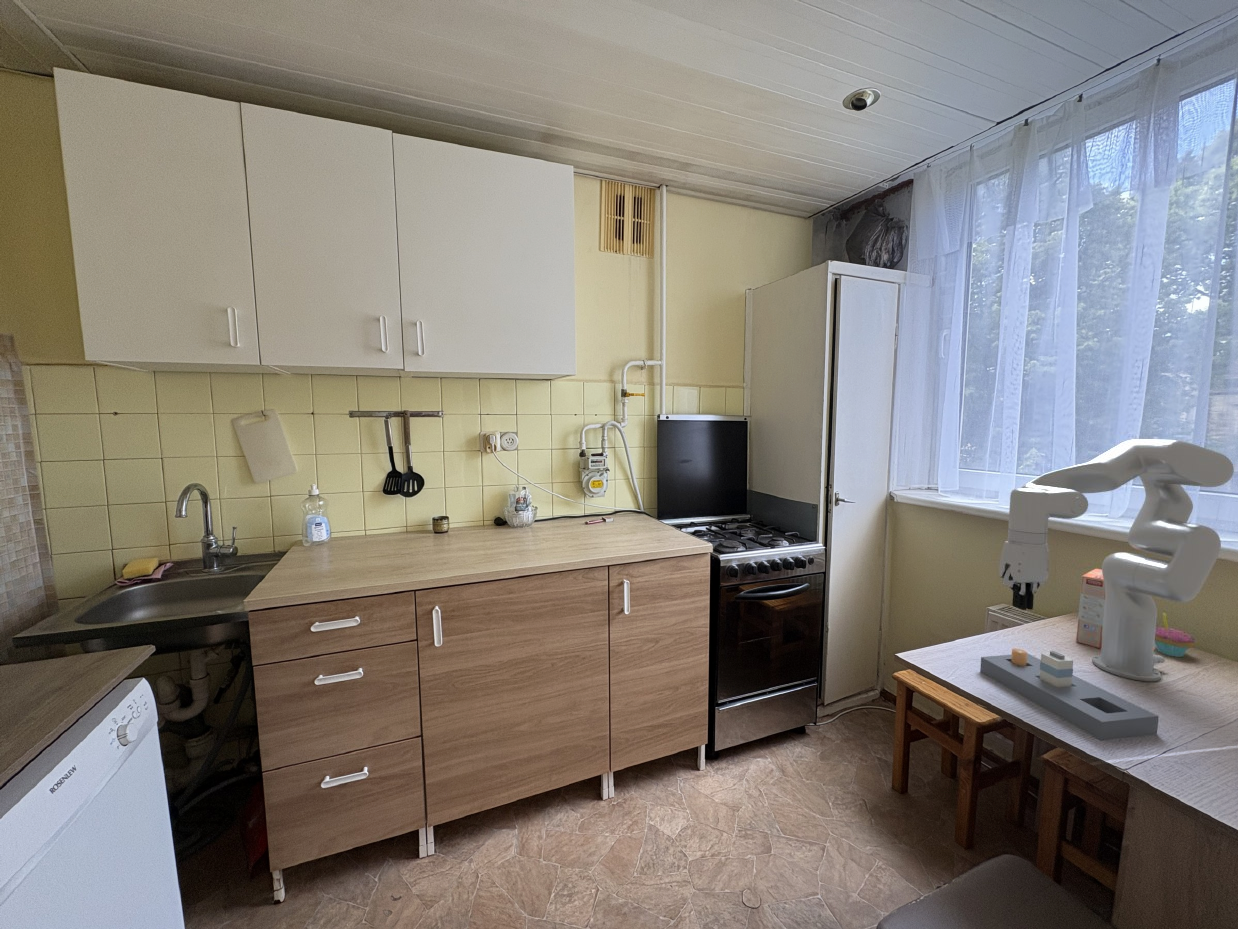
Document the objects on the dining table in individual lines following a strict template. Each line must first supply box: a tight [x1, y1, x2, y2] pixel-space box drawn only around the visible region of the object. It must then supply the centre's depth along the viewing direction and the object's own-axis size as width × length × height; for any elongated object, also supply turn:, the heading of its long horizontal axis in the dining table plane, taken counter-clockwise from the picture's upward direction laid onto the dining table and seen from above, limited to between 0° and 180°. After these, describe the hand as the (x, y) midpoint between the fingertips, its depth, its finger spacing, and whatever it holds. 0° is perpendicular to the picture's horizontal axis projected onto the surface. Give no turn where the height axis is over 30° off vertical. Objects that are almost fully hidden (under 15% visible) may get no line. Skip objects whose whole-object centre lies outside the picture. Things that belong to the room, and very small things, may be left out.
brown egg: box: [1011, 648, 1028, 667], centre depth 122 cm, size 3×3×6 cm
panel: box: [979, 652, 1160, 741], centre depth 113 cm, size 14×28×4 cm, turn 8°
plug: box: [1040, 650, 1074, 688], centre depth 113 cm, size 4×4×11 cm
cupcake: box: [1154, 610, 1196, 658], centre depth 136 cm, size 9×8×12 cm
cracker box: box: [1075, 568, 1105, 650], centre depth 144 cm, size 14×6×21 cm, turn 123°
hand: (1022, 607), depth 121 cm, fingers closed
